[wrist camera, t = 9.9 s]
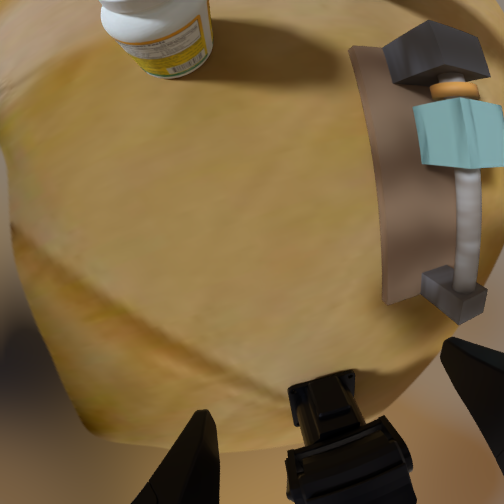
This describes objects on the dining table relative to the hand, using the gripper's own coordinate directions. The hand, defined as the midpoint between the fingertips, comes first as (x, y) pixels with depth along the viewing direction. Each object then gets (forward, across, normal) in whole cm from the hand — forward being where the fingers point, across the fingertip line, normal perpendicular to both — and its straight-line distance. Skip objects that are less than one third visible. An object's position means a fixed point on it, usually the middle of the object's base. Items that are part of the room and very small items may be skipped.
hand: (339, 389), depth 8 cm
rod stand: (+12, -13, -5) cm, 18 cm away
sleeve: (+9, -13, -8) cm, 18 cm away
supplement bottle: (+12, +4, -17) cm, 21 cm away
